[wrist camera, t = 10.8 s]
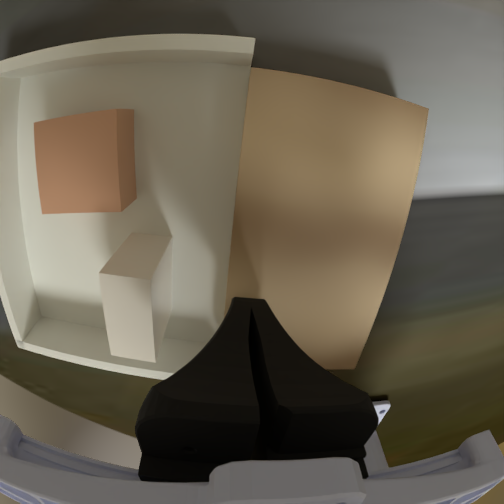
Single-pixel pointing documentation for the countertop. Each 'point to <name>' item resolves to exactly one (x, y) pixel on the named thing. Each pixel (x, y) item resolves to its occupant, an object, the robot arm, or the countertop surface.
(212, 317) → the tray
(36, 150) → the terracotta tile
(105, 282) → the cream tile
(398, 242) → the oak board
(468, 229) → the countertop surface
